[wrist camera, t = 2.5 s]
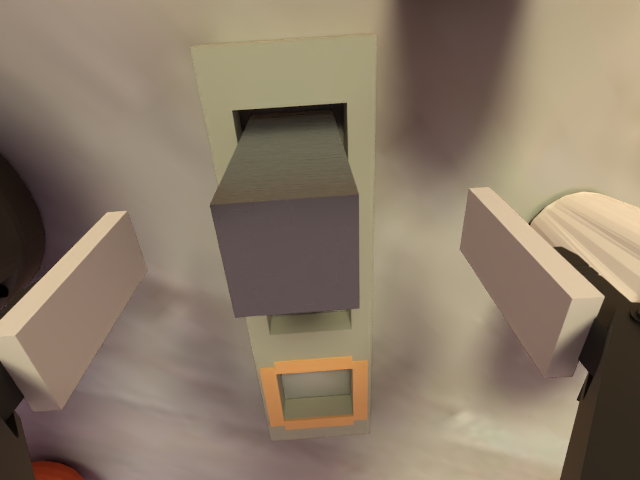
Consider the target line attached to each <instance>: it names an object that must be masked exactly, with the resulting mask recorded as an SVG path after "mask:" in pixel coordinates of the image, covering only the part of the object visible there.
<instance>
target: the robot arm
mask: <svg viewBox="0 0 640 480" xmlns="http://www.w3.org/2000/svg"><path fill="white" fill-rule="evenodd" d="M44 243H45V239H44V230H43V225H42V221H41V217H40V214H39V212H38V209H37V207H36V204H35V202H34V200H33V198H32V196H31V194H30V193H29V191H28V189H27V188H26V186H25V184H24V183H23V182H22V180H21V179H20V177H19V176H18V175H17V173H16V172H15V171H14V170H13V168H12V167H11V166H10V165H9V164H8V163H7V161H6V160H5V159H4V158H3V157H2V156H1V155H0V308H2V307H3V306H4V305H6V304H7V303H8V302H9V301H10V302H9V303H8V304H7V307H4V308H3V309H2V310H0V480H35V476H34V472H33V468H32V463H31V459H30V455H29V451H28V447H27V443H26V439H25V435H24V431H23V427H22V423H21V419H20V417H19V416H18V415H17V413H16V412H15V409H16V407H17V406H18V405H19V403H20V402H21V401H22V399H23V398H24V399H25V400H26V402H27V403H28V405H29V406H30V408H31V409H32V411H33V412H42V411H57V410H62V409H63V407H64V406H65V404H66V402H67V401H68V399H69V397H70V396H71V394H72V392H73V391H74V389H75V388H76V386H77V384H78V383H79V381H80V379H81V378H82V376H83V375H84V373H85V371H86V370H87V368H88V366H89V365H90V363H91V361H92V360H93V358H94V357H95V355H96V353H97V352H98V350H99V348H100V347H101V345H102V344H103V342H104V340H105V339H106V337H107V335H108V334H109V332H110V330H111V329H112V327H113V326H114V324H115V322H116V321H117V319H118V317H119V316H120V314H121V313H122V311H123V309H124V308H125V306H126V304H127V303H128V301H129V299H130V298H131V296H132V295H133V293H134V291H135V290H136V288H137V286H138V285H139V283H140V282H141V280H142V278H143V277H144V275H145V273H146V272H147V270H148V269H147V267H146V264H145V261H144V258H143V255H142V252H141V249H140V246H139V243H138V241H137V238H136V235H135V232H134V229H133V226H132V223H131V220H130V217H129V215H128V212H127V211H118V212H107V213H106V214H105V215H104V216H103V217H102V218H101V219H100V220H99V221H98V222H97V223H96V224H95V225H94V226H93V227H92V228H91V229H90V230H89V231H88V232H87V233H86V234H85V235H84V236H83V237H82V238H81V239H80V240H79V241H78V242H77V243H76V244H75V245H74V246H73V247H72V248H71V249H70V250H69V251H68V252H67V253H66V254H65V255H64V256H63V257H62V258H61V259H60V260H59V261H58V262H57V263H56V264H55V265H54V266H53V267H52V268H51V269H50V270H49V271H48V272H47V273H46V274H45V275H44V276H43V277H42V278H41V279H40V280H39V281H38V282H35V283H33V284H32V285H30V286H29V287H27V288H25V289H24V290H22V289H23V288H24V287H25V286H26V285H27V284H28V283H29V282H30V281H31V279H32V278H33V277H34V276H35V274H36V272H37V271H38V269H39V267H40V264H41V262H42V258H43V254H44ZM460 250H461V252H462V253H463V255H464V256H465V258H466V259H467V261H468V263H469V264H470V266H471V267H472V269H473V270H474V272H475V273H476V275H477V276H478V278H479V279H480V281H481V282H482V284H483V285H484V287H485V288H486V290H487V291H488V293H489V295H490V296H491V298H492V299H493V301H494V302H495V304H496V305H497V307H498V308H499V310H500V311H501V313H502V314H503V316H504V317H505V319H506V320H507V322H508V324H509V325H510V327H511V328H512V330H513V331H514V333H515V334H516V336H517V337H518V339H519V340H520V342H521V343H522V345H523V346H524V348H525V349H526V351H527V353H528V354H529V356H530V357H531V359H532V360H533V362H534V363H535V365H536V366H537V368H538V369H539V371H540V372H541V374H542V375H543V377H544V378H557V377H572V376H573V374H574V372H575V369H576V367H577V364H578V362H579V361H580V362H581V363H582V364H583V366H584V367H585V368H586V369H587V371H588V375H587V377H586V379H585V382H584V384H583V386H582V389H581V391H580V393H579V396H578V398H577V400H578V401H580V402H579V406H578V410H577V414H576V418H575V422H574V426H573V430H572V434H571V438H570V442H569V446H568V450H567V454H566V458H565V462H564V466H563V470H562V474H561V478H560V480H640V303H639V302H631V301H629V300H628V299H627V298H626V297H625V296H624V295H623V294H622V293H620V292H619V291H618V290H617V289H616V288H615V287H614V286H613V285H611V284H610V283H609V282H608V281H607V280H606V279H605V278H604V277H602V276H601V275H599V274H598V272H597V271H596V270H594V269H593V268H592V267H589V264H588V263H587V262H585V261H584V260H583V259H582V258H581V257H580V256H579V255H577V254H575V253H573V252H571V251H569V250H567V249H566V248H564V247H562V246H560V247H552V246H551V245H550V244H549V243H548V242H547V241H546V240H544V239H543V238H542V237H541V236H540V235H539V234H538V233H537V232H536V231H535V230H534V229H533V228H532V227H531V226H530V225H529V224H528V223H526V222H525V221H524V220H523V219H522V218H521V217H520V216H519V215H518V214H517V213H516V212H515V211H514V210H513V209H512V208H511V207H510V206H509V205H507V204H506V203H505V202H504V201H503V200H502V199H501V198H500V197H499V196H498V195H497V194H496V193H495V192H494V191H493V190H492V189H491V188H489V187H481V188H469V191H468V198H467V205H466V211H465V218H464V225H463V231H462V238H461V245H460ZM21 290H22V291H21ZM20 291H21V292H20Z"/></svg>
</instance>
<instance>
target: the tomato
mask: <svg viewBox="0 0 640 480" xmlns="http://www.w3.org/2000/svg"><path fill="white" fill-rule="evenodd" d="M31 463H32V468H33V472H34V476H35V480H84V479H83V477H82V476H81V475H80V474H79V473H78V472H76V471H75V470H74V469H73V468H71V467H69V466H66V465H63V464H61V463H57V462H50V461H36V462H31Z"/></svg>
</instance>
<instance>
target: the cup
mask: <svg viewBox="0 0 640 480" xmlns="http://www.w3.org/2000/svg"><path fill="white" fill-rule="evenodd" d="M530 226H531V227H532V228H533V229H534V230H535V231H536V232H537V233H538V234H539V235H540V236H541V237H542V238H543V239H544V240H546V241H547V242H548V243H549V244H550V245H551V246H552V247H560V246H562V247H564V248H566V249H567V250H569V251H571V252H573V253H575V254H577V255H579V256H580V257H581V258H582V259H583V260H584V261H585V262H587V263H588V264H589V267H592V268H593V269H594V270H596V271H597V272H598V274H599V275H601V276H602V277H604V278H605V279H606V280H607V281H608V282H609V283H610V284H611V285H613V286H614V287H615V288H616V289H617V290H618V291H619V292H620V293H622V294H623V295H624V296H625V297H626V298H627V299H628V300H629V301H631V302H639V303H640V208H638V207H635V206H633V205H630V204H627V203H624V202H622V201H619V200H616V199H614V198H611V197H608V196H606V195H603V194H600V193H591V192H579V193H575V194H570V195H566V196H563V197H561V198H560V199H558V200H556V201H555V202H553V203H551V204H549V205H548V206H546V207H545V208H544V209H543V210H542V211H541V212H540V213H539V214H538V215H537V216H536V217H535V218H534V219H533V220H532V222H531V225H530Z"/></svg>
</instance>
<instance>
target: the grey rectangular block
mask: <svg viewBox="0 0 640 480" xmlns="http://www.w3.org/2000/svg"><path fill="white" fill-rule="evenodd" d="M210 208H211V212H212V217H213V221H214V226H215V230H216V235H217V239H218V243H219V248H220V252H221V257H222V261H223V266H224V270H225V275H226V279H227V283H228V288H229V292H230V297H231V301H232V306H233V310H234V315H235V318H237V317H251V316H265V315H278V314H292V313H305V312H319V311H332V310H346V309H359V308H360V285H359V193H358V190H357V186H356V183H355V180H354V177H353V174H352V171H351V168H350V165H349V162H348V159H347V155H346V152H345V149H344V146H343V143H342V140H341V137H340V134H339V131H338V128H337V124H336V121H335V118H334V115H333V112H332V109H321V110H307V111H292V112H277V113H263V114H251V117H250V119H249V121H248V123H247V125H246V127H245V130H244V132H243V134H242V136H241V138H240V140H239V143H238V145H237V147H236V149H235V151H234V154H233V156H232V158H231V160H230V162H229V164H228V167H227V169H226V171H225V173H224V175H223V177H222V180H221V182H220V184H219V186H218V188H217V190H216V193H215V195H214V197H213V199H212V201H211V203H210Z"/></svg>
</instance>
